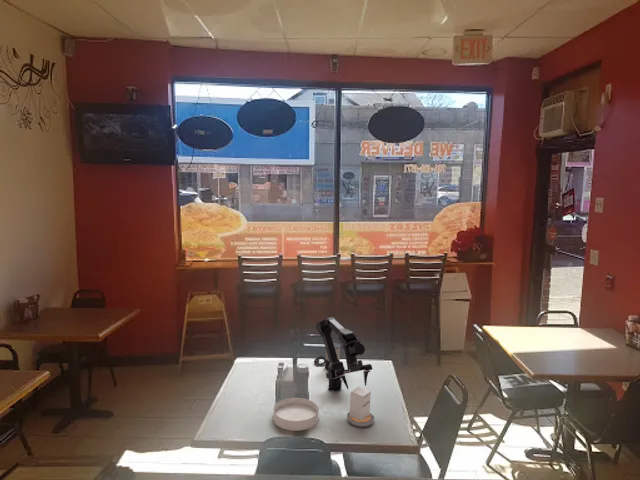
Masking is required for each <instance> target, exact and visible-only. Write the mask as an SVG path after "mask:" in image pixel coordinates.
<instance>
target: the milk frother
mask: <svg viewBox="0 0 640 480" xmlns="http://www.w3.org/2000/svg"><path fill="white" fill-rule="evenodd" d="M333 344H334V347H335V351H336V354H337V358H338V360H339V361H340V359H341V358H340V357H341V356H340V355H341V344H340V343H338V342H333ZM320 360H323V362H320ZM340 362H341V361H340ZM313 363H314V365H315V366H320V367H321V366H324V369H325V370H326V371H327V372H328V371H329V369H328V367H329V363H330V362H329V358H328V355H327V351H326V350H325V356H318V357H316V358H315V359H314V361H313Z"/></svg>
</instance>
